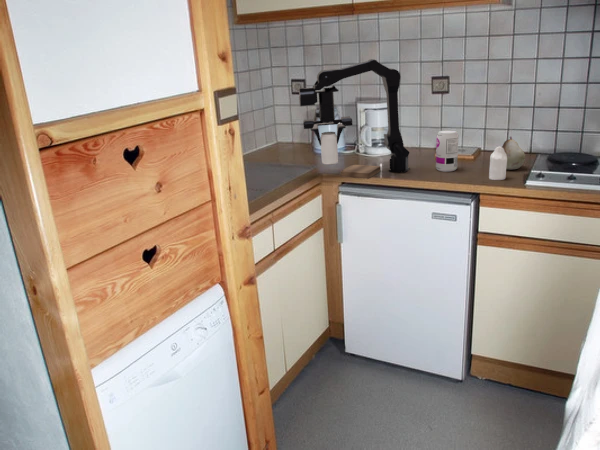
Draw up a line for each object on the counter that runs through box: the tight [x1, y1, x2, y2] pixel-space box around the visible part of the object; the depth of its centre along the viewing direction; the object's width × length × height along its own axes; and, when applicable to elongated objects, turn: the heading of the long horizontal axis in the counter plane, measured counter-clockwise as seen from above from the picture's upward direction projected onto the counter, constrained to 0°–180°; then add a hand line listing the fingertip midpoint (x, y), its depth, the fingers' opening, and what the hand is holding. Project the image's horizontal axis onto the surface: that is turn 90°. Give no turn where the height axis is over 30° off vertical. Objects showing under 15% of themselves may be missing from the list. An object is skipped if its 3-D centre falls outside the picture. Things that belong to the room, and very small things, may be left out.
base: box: [340, 164, 381, 179], centre depth 218 cm, size 12×12×2 cm
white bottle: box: [488, 145, 507, 181], centre depth 198 cm, size 6×12×6 cm
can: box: [320, 131, 339, 166], centre depth 214 cm, size 6×6×12 cm
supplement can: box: [435, 129, 459, 173], centre depth 214 cm, size 8×8×15 cm
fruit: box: [501, 136, 526, 171], centre depth 210 cm, size 10×9×12 cm
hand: (328, 144), depth 213 cm, fingers closed on can, 6 cm apart
